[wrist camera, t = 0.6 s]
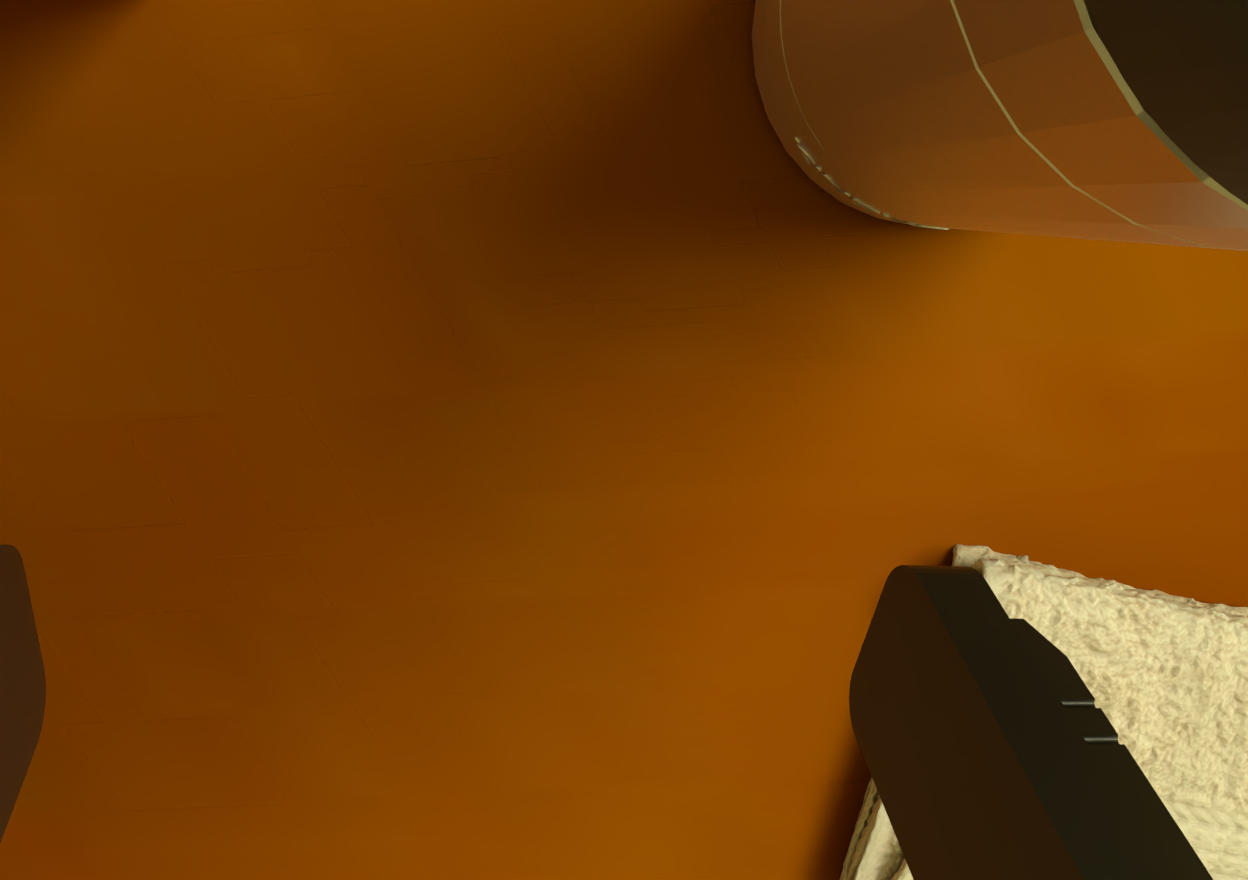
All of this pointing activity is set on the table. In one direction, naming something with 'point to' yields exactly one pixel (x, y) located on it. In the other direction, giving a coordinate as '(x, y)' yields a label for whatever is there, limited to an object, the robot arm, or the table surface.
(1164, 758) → the washcloth
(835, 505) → the table surface
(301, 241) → the table surface
